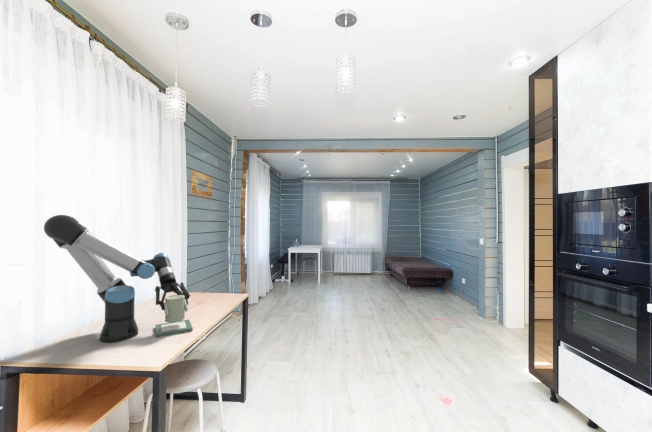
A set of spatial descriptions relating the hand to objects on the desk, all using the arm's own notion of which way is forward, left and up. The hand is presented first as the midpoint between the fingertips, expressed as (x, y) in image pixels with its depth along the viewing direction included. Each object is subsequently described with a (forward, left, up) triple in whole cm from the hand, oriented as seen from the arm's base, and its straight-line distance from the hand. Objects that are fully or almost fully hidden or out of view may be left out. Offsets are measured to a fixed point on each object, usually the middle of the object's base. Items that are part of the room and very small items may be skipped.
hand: (177, 312), depth 146 cm
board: (-1, +3, -9) cm, 10 cm away
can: (-1, +3, -4) cm, 5 cm away
